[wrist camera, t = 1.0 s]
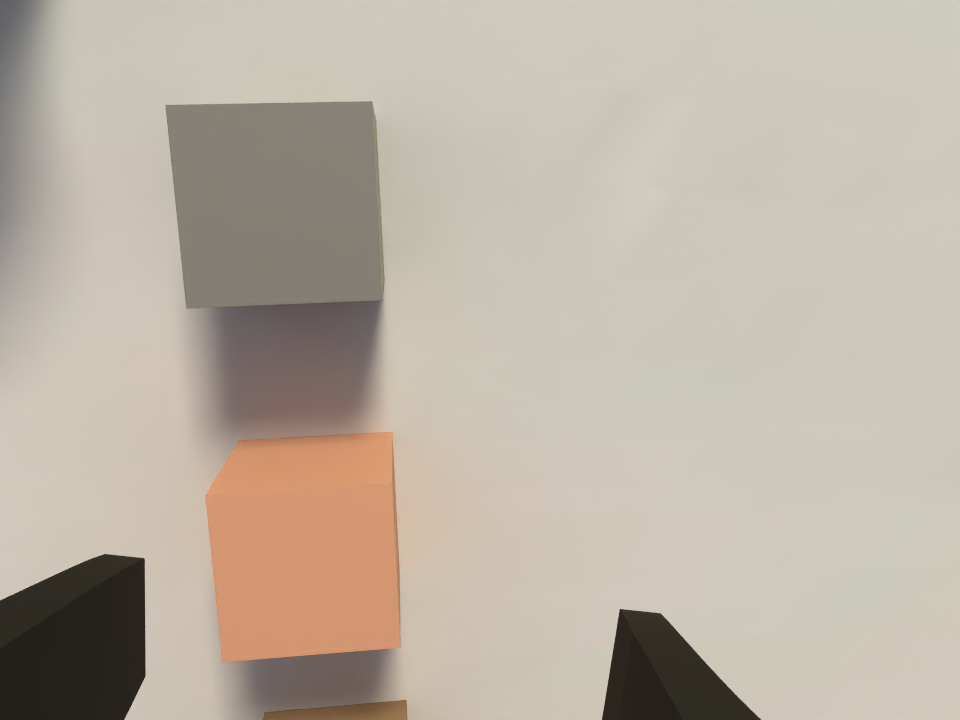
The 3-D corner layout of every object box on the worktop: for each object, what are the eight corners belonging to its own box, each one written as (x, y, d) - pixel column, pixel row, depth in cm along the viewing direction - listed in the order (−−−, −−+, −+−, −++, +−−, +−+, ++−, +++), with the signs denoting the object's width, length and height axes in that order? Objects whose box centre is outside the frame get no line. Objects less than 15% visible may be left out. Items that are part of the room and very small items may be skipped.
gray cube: (384, 280, 23) (382, 300, 19) (225, 287, 23) (186, 308, 19) (375, 120, 22) (372, 101, 18) (210, 123, 22) (165, 104, 18)
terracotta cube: (399, 569, 25) (400, 647, 21) (252, 579, 25) (222, 662, 20) (392, 431, 24) (392, 483, 20) (239, 439, 24) (205, 494, 20)
